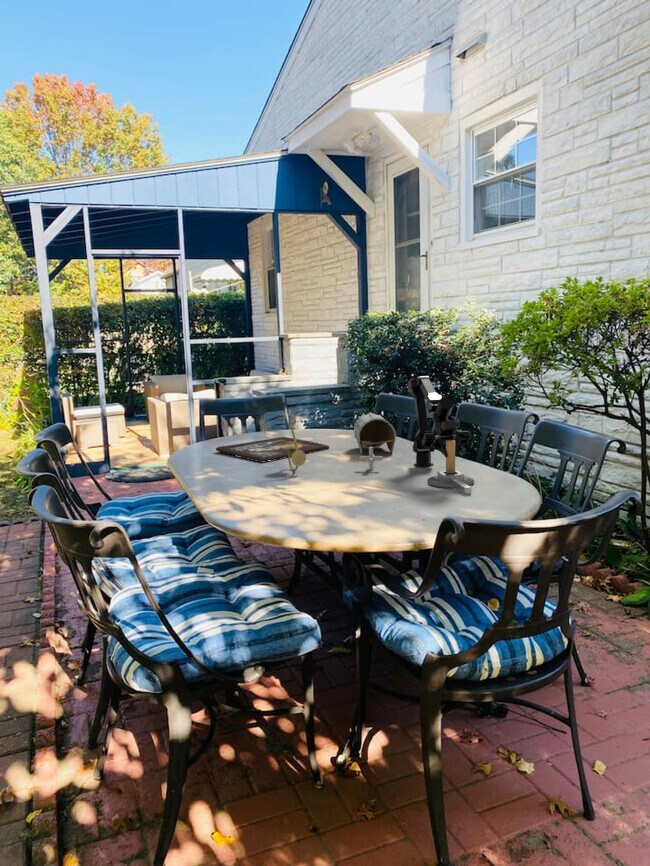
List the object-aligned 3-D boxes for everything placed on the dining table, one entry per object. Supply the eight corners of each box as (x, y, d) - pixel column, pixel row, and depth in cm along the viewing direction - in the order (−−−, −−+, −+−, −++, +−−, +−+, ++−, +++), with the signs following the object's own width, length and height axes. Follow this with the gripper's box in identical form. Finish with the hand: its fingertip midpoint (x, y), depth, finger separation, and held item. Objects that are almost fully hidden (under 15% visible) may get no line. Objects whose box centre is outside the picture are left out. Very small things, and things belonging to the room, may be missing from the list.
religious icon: (213, 453, 331) (213, 447, 331) (282, 441, 361) (282, 435, 360) (260, 464, 302) (260, 458, 301) (330, 450, 332) (330, 444, 331)
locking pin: (446, 470, 256) (446, 439, 254) (455, 471, 255) (455, 440, 253) (445, 473, 252) (445, 441, 250) (454, 473, 252) (454, 441, 249)
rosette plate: (421, 479, 262) (421, 469, 261) (463, 476, 265) (463, 466, 264) (444, 496, 235) (444, 485, 235) (491, 492, 238) (491, 481, 238)
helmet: (398, 457, 309) (386, 443, 339) (398, 419, 306) (386, 409, 335) (360, 459, 308) (351, 445, 337) (359, 421, 304) (350, 410, 333)
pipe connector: (381, 472, 276) (381, 449, 274) (358, 472, 278) (357, 449, 276) (384, 467, 285) (383, 445, 284) (361, 467, 287) (361, 444, 286)
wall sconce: (310, 472, 280) (307, 415, 276) (289, 475, 276) (286, 417, 272) (298, 466, 293) (296, 411, 288) (279, 469, 289) (276, 413, 285)
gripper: (424, 413, 252) (433, 446, 243) (469, 410, 255) (480, 443, 246) (418, 430, 261) (427, 462, 252) (462, 427, 264) (472, 459, 255)
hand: (451, 456), depth 251 cm, fingers closed on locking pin, 4 cm apart
